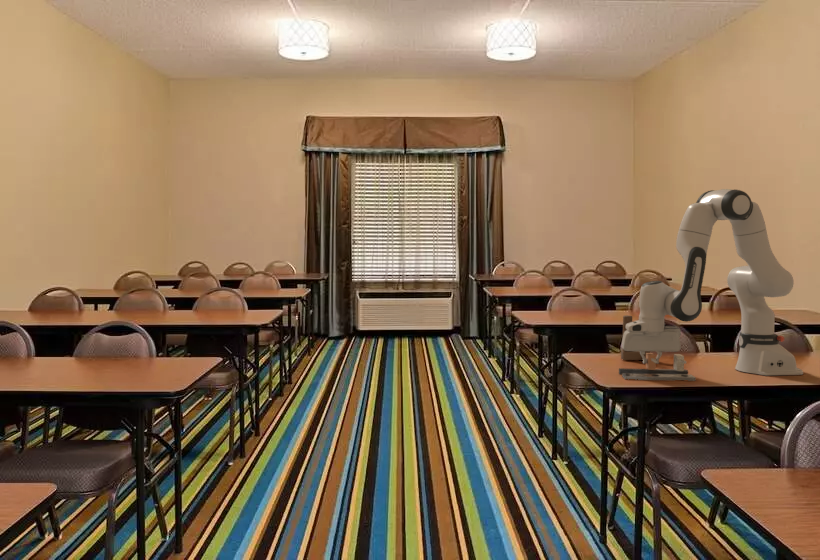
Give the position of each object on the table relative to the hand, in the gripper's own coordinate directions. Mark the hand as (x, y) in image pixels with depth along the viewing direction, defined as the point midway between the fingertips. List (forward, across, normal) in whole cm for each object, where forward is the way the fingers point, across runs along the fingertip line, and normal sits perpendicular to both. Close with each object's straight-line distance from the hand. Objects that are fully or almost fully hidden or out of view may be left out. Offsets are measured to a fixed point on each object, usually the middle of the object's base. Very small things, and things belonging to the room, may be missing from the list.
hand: (650, 363), depth 256 cm
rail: (+4, -1, +3) cm, 5 cm away
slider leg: (+2, 0, +3) cm, 3 cm away
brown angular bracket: (+4, -1, -28) cm, 28 cm away
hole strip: (+4, -1, +8) cm, 9 cm away
